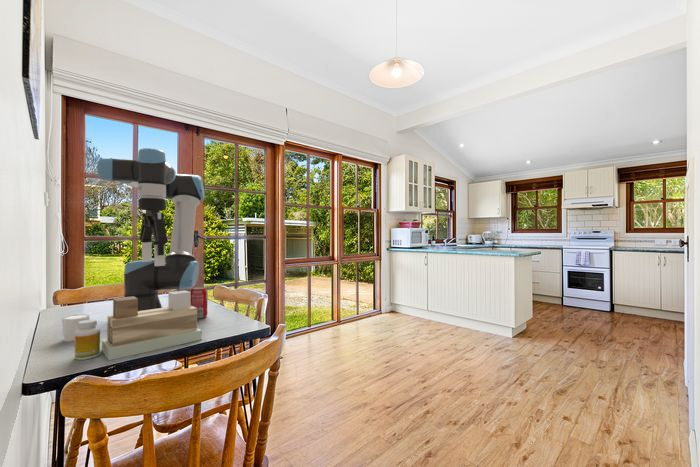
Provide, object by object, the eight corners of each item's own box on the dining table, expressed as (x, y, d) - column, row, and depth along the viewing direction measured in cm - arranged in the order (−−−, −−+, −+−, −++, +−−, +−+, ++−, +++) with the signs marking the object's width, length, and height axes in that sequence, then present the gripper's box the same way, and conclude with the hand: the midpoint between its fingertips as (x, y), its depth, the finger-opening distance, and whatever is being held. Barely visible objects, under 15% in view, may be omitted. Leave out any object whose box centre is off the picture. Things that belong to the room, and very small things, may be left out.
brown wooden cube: (113, 315, 93) (113, 298, 93) (133, 312, 96) (133, 296, 96) (116, 319, 89) (116, 301, 89) (137, 315, 93) (137, 298, 93)
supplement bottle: (101, 356, 88) (101, 321, 88) (75, 362, 84) (75, 325, 84) (98, 351, 92) (98, 317, 92) (73, 356, 88) (73, 321, 88)
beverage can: (201, 314, 134) (201, 286, 134) (210, 316, 131) (210, 287, 131) (187, 318, 129) (187, 288, 129) (196, 320, 126) (196, 289, 126)
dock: (101, 350, 93) (101, 339, 93) (189, 332, 110) (189, 323, 110) (108, 360, 86) (108, 349, 86) (201, 339, 103) (201, 330, 103)
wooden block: (107, 339, 93) (107, 315, 93) (187, 324, 109) (188, 304, 109) (112, 346, 87) (112, 320, 87) (197, 329, 103) (197, 307, 103)
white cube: (168, 307, 103) (168, 292, 103) (185, 305, 107) (185, 290, 107) (173, 310, 100) (173, 294, 100) (190, 307, 103) (190, 292, 103)
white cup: (93, 337, 105) (93, 315, 105) (66, 343, 99) (66, 320, 99) (84, 333, 108) (84, 313, 108) (57, 339, 102) (58, 317, 102)
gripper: (128, 198, 109) (129, 261, 110) (150, 195, 92) (151, 268, 93) (153, 200, 115) (154, 259, 116) (178, 197, 98) (179, 266, 98)
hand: (153, 263), depth 104 cm, fingers open, 13 cm apart
